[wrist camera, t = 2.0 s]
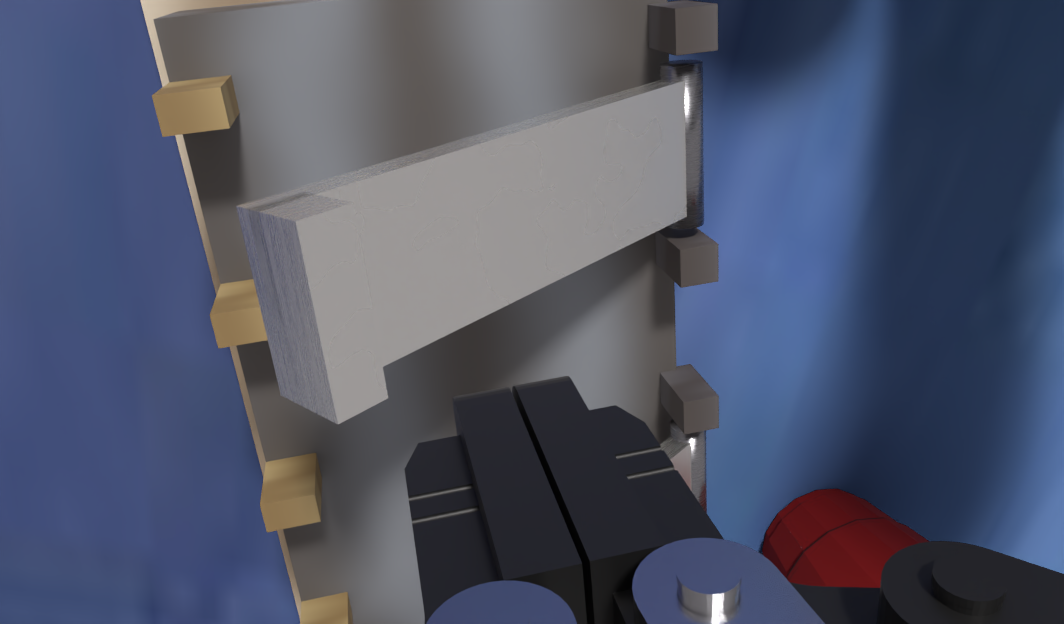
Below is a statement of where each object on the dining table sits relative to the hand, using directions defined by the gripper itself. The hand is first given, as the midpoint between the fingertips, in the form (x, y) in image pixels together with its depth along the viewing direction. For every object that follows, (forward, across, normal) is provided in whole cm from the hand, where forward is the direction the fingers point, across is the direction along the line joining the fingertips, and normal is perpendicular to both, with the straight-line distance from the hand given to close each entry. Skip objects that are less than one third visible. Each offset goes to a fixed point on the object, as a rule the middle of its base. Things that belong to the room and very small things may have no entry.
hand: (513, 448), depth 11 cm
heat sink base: (+21, -1, +6) cm, 22 cm away
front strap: (+11, -2, 0) cm, 11 cm away
